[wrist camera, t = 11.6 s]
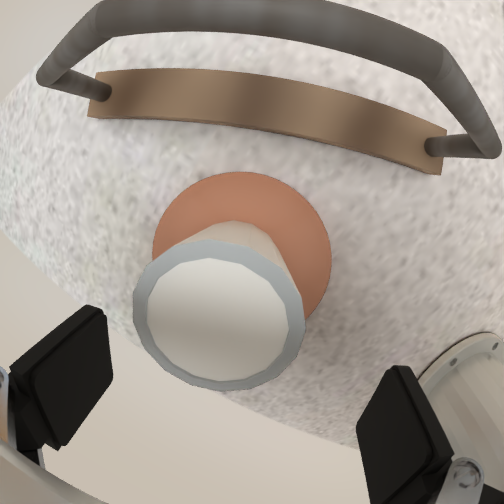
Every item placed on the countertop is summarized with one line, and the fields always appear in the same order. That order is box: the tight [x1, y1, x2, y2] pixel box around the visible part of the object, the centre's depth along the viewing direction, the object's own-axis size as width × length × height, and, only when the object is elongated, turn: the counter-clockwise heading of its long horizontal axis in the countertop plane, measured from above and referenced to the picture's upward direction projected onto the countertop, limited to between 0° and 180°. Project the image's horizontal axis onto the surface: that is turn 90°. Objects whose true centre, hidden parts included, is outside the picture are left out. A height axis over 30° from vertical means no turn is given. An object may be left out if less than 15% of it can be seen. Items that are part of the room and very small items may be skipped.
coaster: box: [152, 172, 331, 319], centre depth 17 cm, size 11×11×1 cm
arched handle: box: [36, 0, 502, 175], centre depth 10 cm, size 22×3×12 cm, turn 80°
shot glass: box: [133, 220, 306, 392], centre depth 14 cm, size 7×7×7 cm
